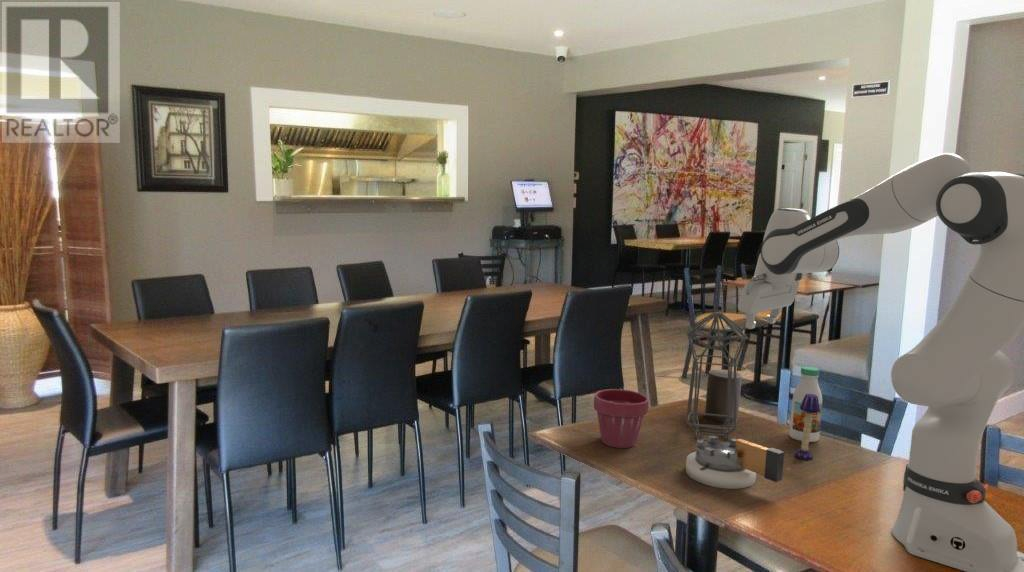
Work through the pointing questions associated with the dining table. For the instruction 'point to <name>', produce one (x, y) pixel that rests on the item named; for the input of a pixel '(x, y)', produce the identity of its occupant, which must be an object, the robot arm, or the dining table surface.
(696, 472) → the white round plate
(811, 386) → the milk bottle
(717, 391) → the pillar candle
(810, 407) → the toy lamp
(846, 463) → the dining table surface
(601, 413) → the plant pot
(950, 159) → the robot arm
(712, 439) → the lugged steel disc
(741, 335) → the geometric lantern
